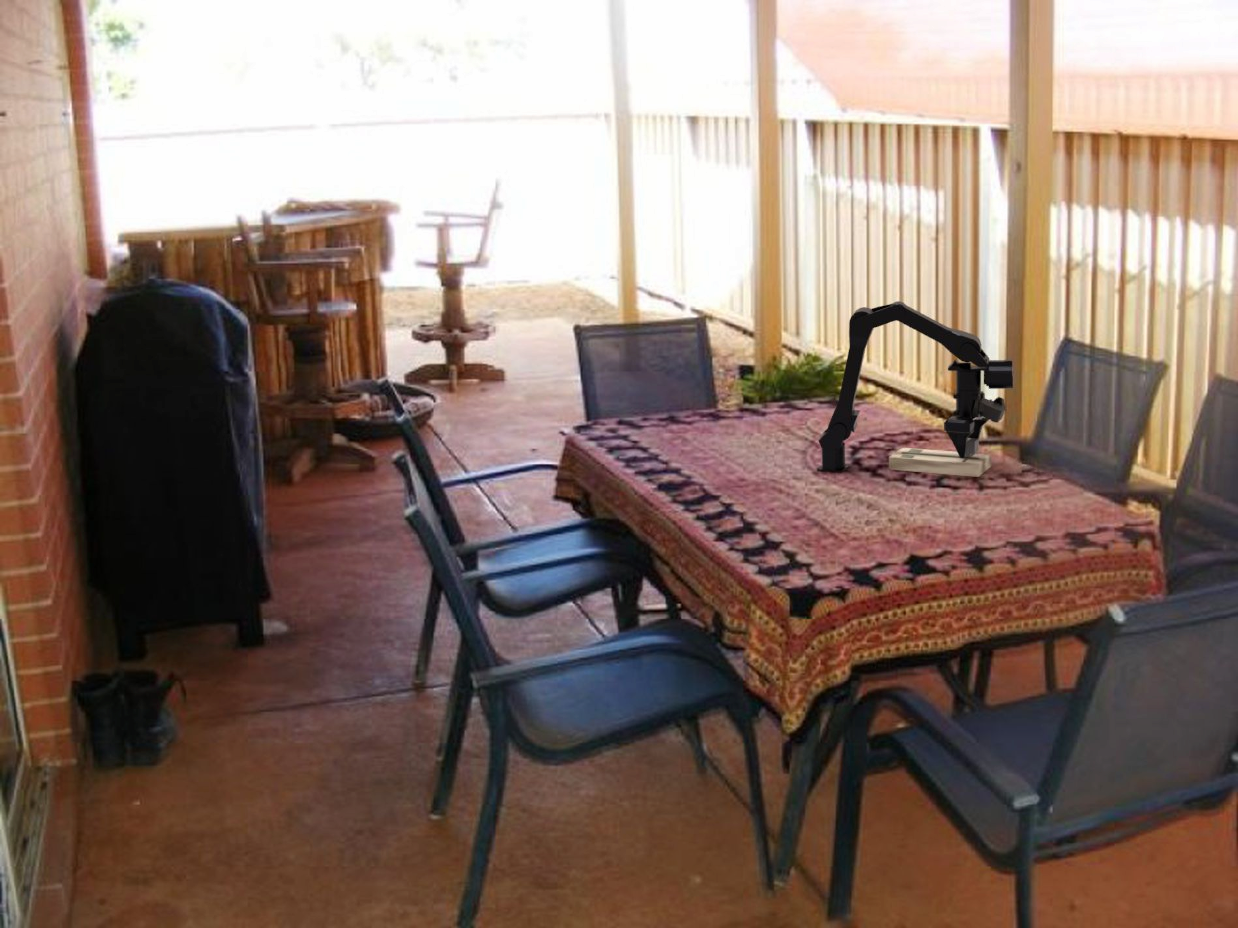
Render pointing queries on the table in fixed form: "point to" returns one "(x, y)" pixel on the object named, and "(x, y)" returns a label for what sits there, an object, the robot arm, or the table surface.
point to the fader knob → (972, 447)
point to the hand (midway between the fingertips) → (968, 453)
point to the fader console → (939, 462)
